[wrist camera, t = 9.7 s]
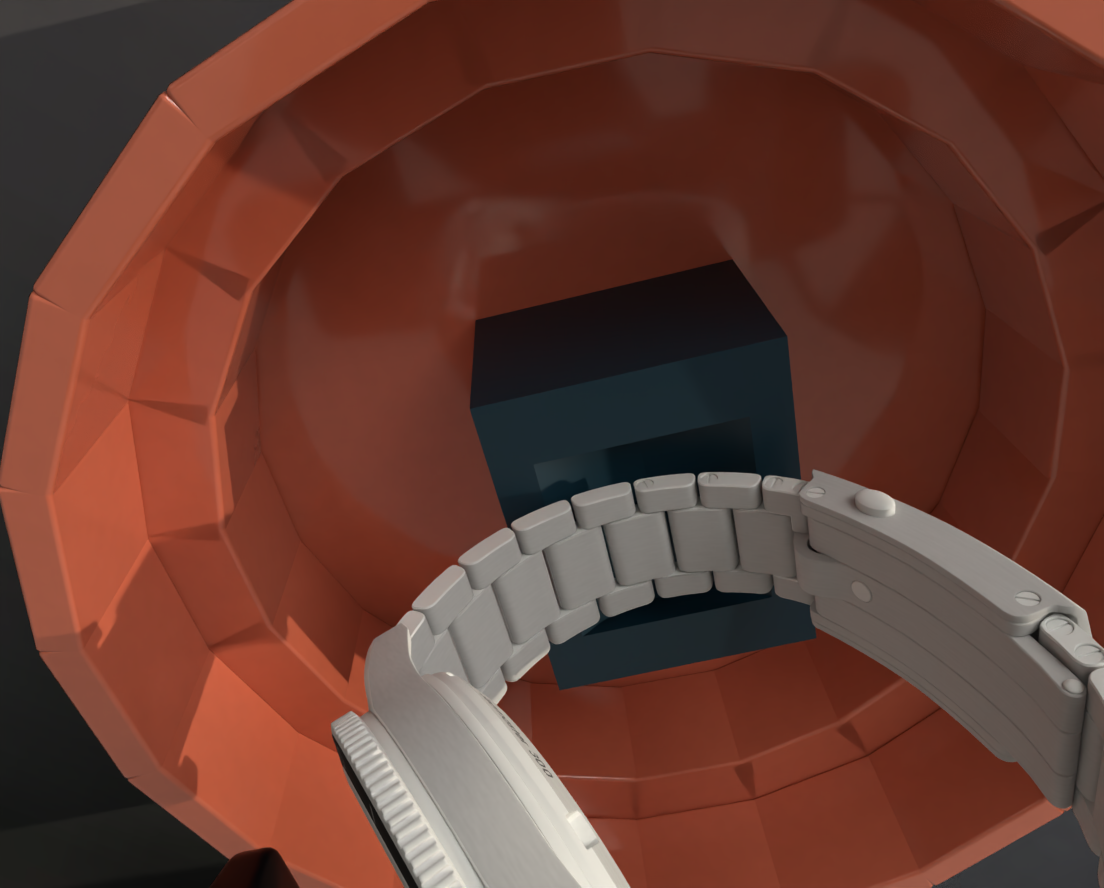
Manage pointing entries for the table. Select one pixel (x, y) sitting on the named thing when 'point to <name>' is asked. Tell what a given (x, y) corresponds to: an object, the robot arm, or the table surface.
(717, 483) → the watch
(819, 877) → the terracotta bowl
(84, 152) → the table surface
